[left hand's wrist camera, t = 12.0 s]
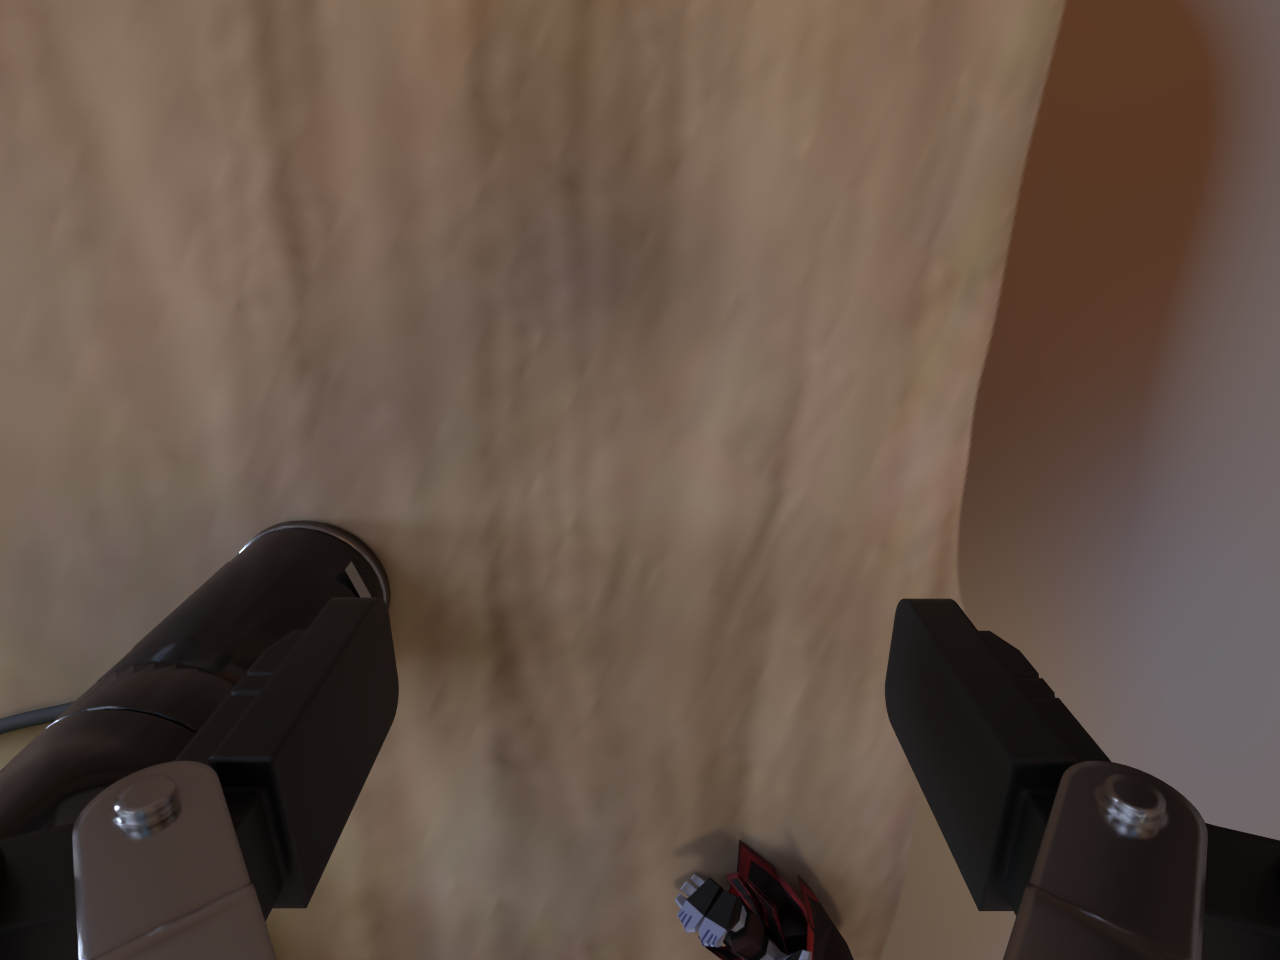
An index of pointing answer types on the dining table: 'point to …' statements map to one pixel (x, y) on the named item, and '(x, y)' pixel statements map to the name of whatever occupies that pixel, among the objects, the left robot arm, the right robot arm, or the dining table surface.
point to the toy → (759, 916)
